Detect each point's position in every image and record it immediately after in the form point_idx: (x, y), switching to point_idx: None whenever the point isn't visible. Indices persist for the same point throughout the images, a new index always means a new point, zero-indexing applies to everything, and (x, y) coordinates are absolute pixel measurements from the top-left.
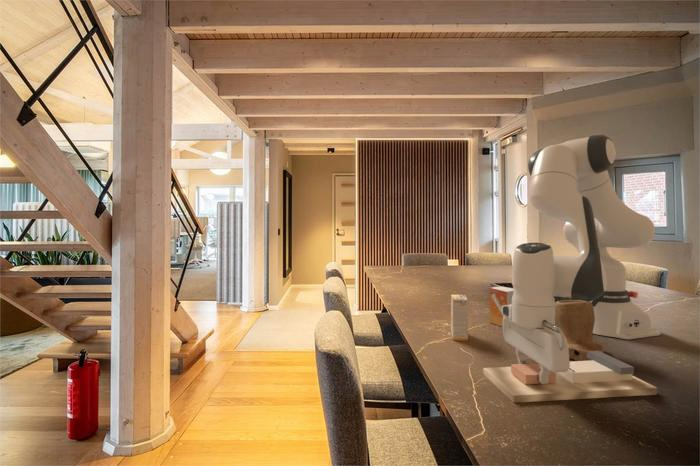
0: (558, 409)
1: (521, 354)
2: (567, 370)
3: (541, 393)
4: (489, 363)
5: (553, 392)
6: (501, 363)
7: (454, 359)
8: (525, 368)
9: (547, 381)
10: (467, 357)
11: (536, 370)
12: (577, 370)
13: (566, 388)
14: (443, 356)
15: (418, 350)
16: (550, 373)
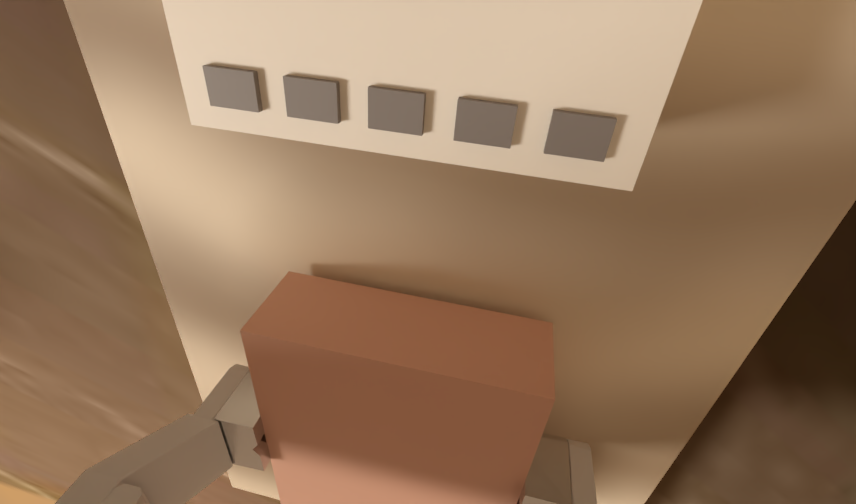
0: (781, 448)
1: (162, 492)
2: (483, 161)
3: (641, 492)
4: (90, 347)
5: (675, 435)
6: (67, 288)
7: (85, 444)
8: (370, 496)
9: (588, 460)
10: (34, 388)
11: (427, 471)
12: (585, 21)
13: (677, 304)
14: (61, 457)
15: (25, 487)
16: (527, 432)
